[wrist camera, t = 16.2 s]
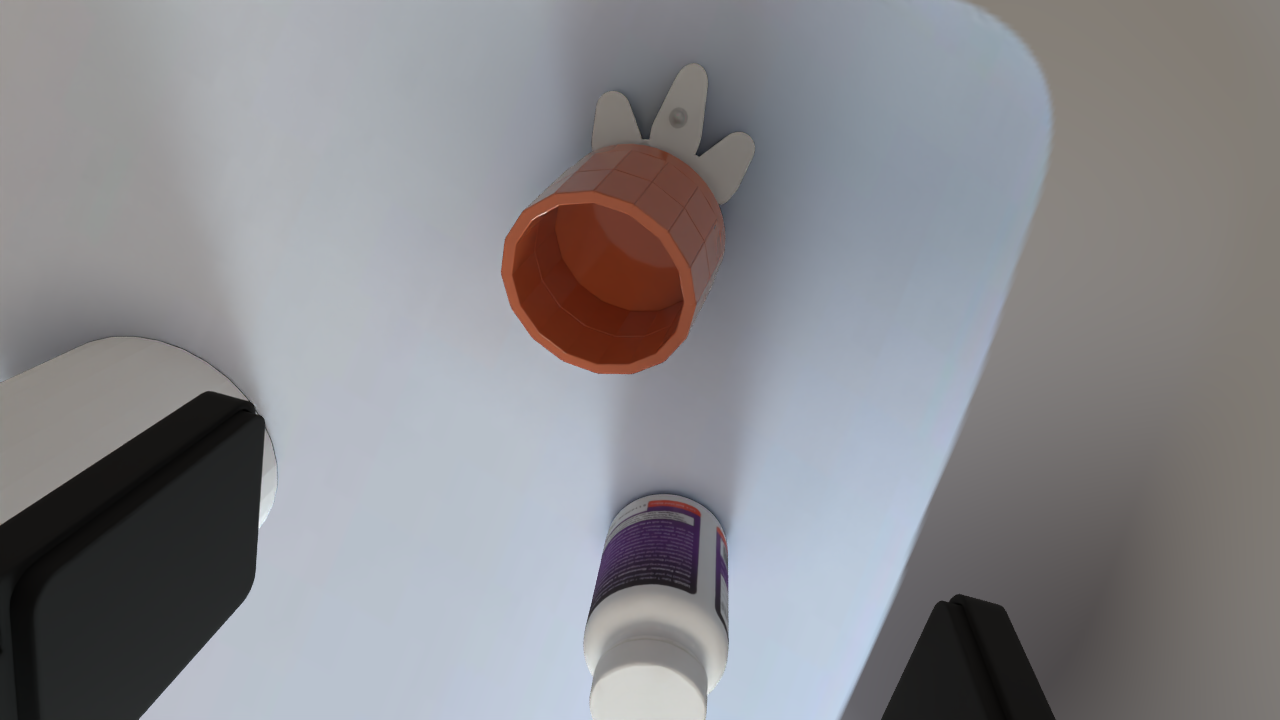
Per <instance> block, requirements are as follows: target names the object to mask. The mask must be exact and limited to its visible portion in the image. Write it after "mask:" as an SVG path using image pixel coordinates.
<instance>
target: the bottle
mask: <svg viewBox="0 0 1280 720" xmlns="http://www.w3.org/2000/svg"><path fill="white" fill-rule="evenodd" d="M206 391H213V392H217V393H221V394H224V395H228V396H232V397H235V398H239V399H243V400H246V401H248V399H247V398H246V397H245V396H244V395H243V394H242V393H241V392H240V391H239V389H238V388H237V387H236V386H235V385H234V384H233V383H232V382H231V381H230V380H229V379H228V378H227V377H225V376H224V375H223V374H221V373H220V372H219V371H218V370H216V369H215V368H214V367H212V366H211V365H210V364H208V363H207V362H205V361H203V360H202V359H200V358H198V357H196V356H194V355H193V354H191V353H189V352H187V351H185V350H183V349H180V348H178V347H175V346H172V345H169V344H166V343H164V342H161V341H157V340H151V339H145V338H140V337H109V338H104V339H100V340H96V341H92V342H88V343H86V344H84V345H82V346H80V347H77V348H75V349H73V350H71V351H69V352H66V353H64V354H62V355H60V356H58V357H56V358H53V359H51V360H49V361H47V362H45V363H42V364H40V365H38V366H36V367H34V368H32V369H29V370H27V371H25V372H23V373H21V374H18V375H16V376H14V377H12V378H10V379H8V380H5V381H3V382H1V383H0V525H1V524H3V523H4V522H6V521H7V520H9V519H10V518H12V517H14V516H15V515H17V514H18V513H20V512H21V511H23V510H24V509H26V508H27V507H29V506H30V505H32V504H33V503H35V502H36V501H38V500H40V499H41V498H43V497H44V496H46V495H47V494H49V493H50V492H52V491H53V490H55V489H56V488H58V487H59V486H61V485H62V484H64V483H65V482H67V481H69V480H70V479H72V478H73V477H75V476H76V475H78V474H79V473H81V472H82V471H84V470H85V469H87V468H88V467H90V466H91V465H93V464H94V463H96V462H98V461H99V460H101V459H102V458H104V457H105V456H107V455H108V454H110V453H111V452H113V451H114V450H116V449H117V448H119V447H120V446H122V445H123V444H125V443H127V442H128V441H130V440H131V439H133V438H134V437H136V436H137V435H139V434H140V433H142V432H143V431H145V430H146V429H148V428H149V427H151V426H153V425H154V424H156V423H157V422H159V421H160V420H162V419H163V418H165V417H166V416H168V415H169V414H171V413H172V412H174V411H175V410H177V409H178V408H180V407H182V406H183V405H185V404H186V403H188V402H189V401H191V400H192V399H194V398H195V397H197V396H198V395H200V394H201V393H204V392H206ZM255 412H256V411H255ZM256 414H257V412H256ZM257 415H258V414H257ZM276 489H277V463H276V459H275V454H274V450H273V446H272V442H271V440H270V437H269V435H268V433H267V431H266V429H265V437H264V452H263V467H262V482H261V497H260V512H259V527H258V529H259V528H260V527H261V525H262V524H263V523H264V522H265V520H266V518H267V516H268V514H269V512H270V510H271V508H272V506H273V504H274V499H275V494H276Z"/></svg>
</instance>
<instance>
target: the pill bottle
mask: <svg viewBox="0 0 1280 720" xmlns="http://www.w3.org/2000/svg"><path fill="white" fill-rule="evenodd" d="M728 644H729V638H728V551H727V541H726V537H725V534H724V531H723V529H722V527H721V525H720V523H719V522H718V520H717V519H716V518H715V517H714V515H713V514H712V513H711V512H710V511H709V510H707V509H706V508H705V507H703V506H702V505H700V504H699V503H697V502H695V501H693V500H690V499H688V498H685V497H681V496H677V495H671V494H656V495H650V496H646V497H643V498H640V499H638V500H636V501H634V502H632V503H630V504H629V505H627V506H626V507H625V508H623V509H622V510H621V511H620V512H619V513H618V515H617V516H616V517H615V519H614V520H613V522H612V524H611V526H610V528H609V531H608V534H607V537H606V540H605V545H604V550H603V554H602V559H601V564H600V568H599V572H598V577H597V581H596V586H595V590H594V594H593V599H592V603H591V607H590V611H589V615H588V619H587V623H586V628H585V633H584V642H583V647H584V656H585V660H586V663H587V666H588V669H589V671H590V673H591V674H592V676H593V682H592V687H591V693H590V711H591V715H592V718H593V720H705V718H706V711H707V695H708V694H709V693H710V692H711V691H712V690H713V689H714V688H715V687H716V685H717V684H718V682H719V681H720V679H721V678H722V676H723V673H724V671H725V668H726V664H727V659H728Z"/></svg>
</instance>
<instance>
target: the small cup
mask: <svg viewBox="0 0 1280 720" xmlns="http://www.w3.org/2000/svg"><path fill="white" fill-rule="evenodd" d="M725 240H726V238H725V226H724V221H723V216H722V213H721V210H720V207H719V205H718V203H717V201H716V199H715V196H714V194H713V193H712V191H711V190H710V188H709V187H708V185H707V184H706V183H705V181H704V180H703V179H702V178H701V177H700V176H699V174H698V173H696V172H695V171H694V170H693V169H692V168H691V167H690V166H689V165H687V164H686V163H684V162H683V161H682V160H680V159H679V158H677V157H675V156H673V155H671V154H670V153H668V152H665V151H663V150H660V149H657V148H654V147H650V146H646V145H640V144H617V145H611V146H607V147H604V148H600V149H598V150H596V151H594V152H592V153H589V154H588V155H586V156H585V157H583V158H582V159H581V160H579V161H578V162H577V163H576V164H575V165H574V166H572V167H570V168H569V169H567V170H566V171H565V172H564V173H563V174H562V175H561V176H560V177H559V178H558V179H556V180H555V181H554V182H553V183H552V184H551V185H550V186H549V187H548V188H547V189H546V190H545V191H544V192H543V193H542V194H541V195H539V196H538V197H537V198H536V199H535V200H534V201H533V202H532V203H531V204H530V205H529V206H528V207H527V208H526V209H525V210H523V212H522V213H521V215H520V216H519V218H518V219H517V221H516V222H515V224H514V225H513V227H512V228H511V230H510V232H509V233H508V235H507V236H506V238H505V243H504V251H503V260H502V268H501V275H502V279H503V282H504V286H505V289H506V293H507V296H508V300H509V303H510V306H511V308H512V310H513V311H514V313H515V314H516V316H517V317H518V318H519V320H520V321H521V323H522V324H523V326H524V327H525V328H526V330H527V331H528V333H529V334H530V335H531V337H532V338H533V339H534V340H535V341H537V342H538V343H539V344H541V345H542V346H543V347H545V348H546V349H547V350H549V351H550V352H551V353H553V354H554V355H555V356H557V357H558V358H559V359H560V360H563V361H564V362H567V363H569V364H572V365H575V366H578V367H580V368H583V369H586V370H589V371H591V372H594V373H598V374H634V373H637V372H639V371H642V370H645V369H647V368H650V367H652V366H655V365H658V364H660V363H663V362H664V361H666V360H667V359H668V358H669V356H670V355H671V354H672V353H673V352H674V351H675V350H676V349H677V348H678V347H679V346H680V345H681V344H682V343H683V342H684V341H685V339H686V338H687V336H688V334H689V332H690V330H691V328H692V326H693V324H694V322H695V320H696V318H697V316H698V314H699V312H700V310H701V308H702V306H703V304H704V302H705V300H706V298H707V296H708V294H709V292H710V290H711V288H712V286H713V283H714V280H715V277H716V274H717V272H718V270H719V268H720V265H721V263H722V260H723V255H724V251H725Z"/></svg>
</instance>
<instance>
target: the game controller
mask: <svg viewBox="0 0 1280 720" xmlns="http://www.w3.org/2000/svg"><path fill="white" fill-rule="evenodd" d="M707 88H708V78H707V74H706V72H705V70H704V68H703V67H702V66H700V65H699V64H695V63H692V64H688V65H686V66H685V67H683V68H682V69H681V70H680V72H679V73H678V74H677V76H676V78H675V80H674V82H673V84H672V86H671V88H670V90H669V92H668V94H667V96H666V98H665V100H664V102H663V104H662V106H661V108H660V110H659V112H658V114H657V116H656V118H655V120H654V123H653V125H652V128H651V132H650V140H647V139H642V136H641V133H640V130H639V128H638V125H637V122H636V119H635V116H634V114H633V111H632V108H631V105H630V103H629V101H628V100H627V98H626V97H625V96H624V95H623V94H622V93H620V92H617V91H609V92H606V93H604V94H603V95H602V96H601V97H600V98H599V100H598V102H597V105H596V112H595V119H594V127H593V134H592V150H593V151H592V152H594V151H596V150H598V149H600V148H604V147H607V146H611V145H617V144H640V145H646V146H650V147H654V148H657V149H660V150H663V151H665V152H668V153H670V154H671V155H673V156H675V157H677V158H679V159H680V160H682V161H683V162H684V163H686V164H687V165H689V166H690V167H691V168H692V169H693V170H694V171H695V172H696V173H698V174H699V176H700V177H701V178H702V179H703V180H704V181H705V183H706V184H707V185H708V187H709V188H710V190H711V191H712V193H713V194H714V196H715V199H716V201H717V203H718V205H721V204H724V203H726V202H728V200H729V199H730V198H731V197H732V195H733V194H734V193H735V192H736V191H737V189H738V187H739V185H740V183H741V181H742V179H743V177H744V175H745V173H746V171H747V169H748V166H749V164H750V162H751V160H752V158H753V156H754V153H755V145H754V142H753V140H752V138H751V137H750V136H749V135H747V134H746V133H743V132H734V133H731V134H729V135H728V136H727V137H725V138H724V139H723V140H721V141H720V142H719V143H717V144H716V145H715V146H713V147H712V148H711V149H709V150H708V151H706V152H705V153H704V154H702V155H701V156H700V157H699V156H697V155H695V154H696V152H697V149H698V147H699V144H700V141H701V136H702V129H703V121H704V112H705V104H706V96H707Z"/></svg>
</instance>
